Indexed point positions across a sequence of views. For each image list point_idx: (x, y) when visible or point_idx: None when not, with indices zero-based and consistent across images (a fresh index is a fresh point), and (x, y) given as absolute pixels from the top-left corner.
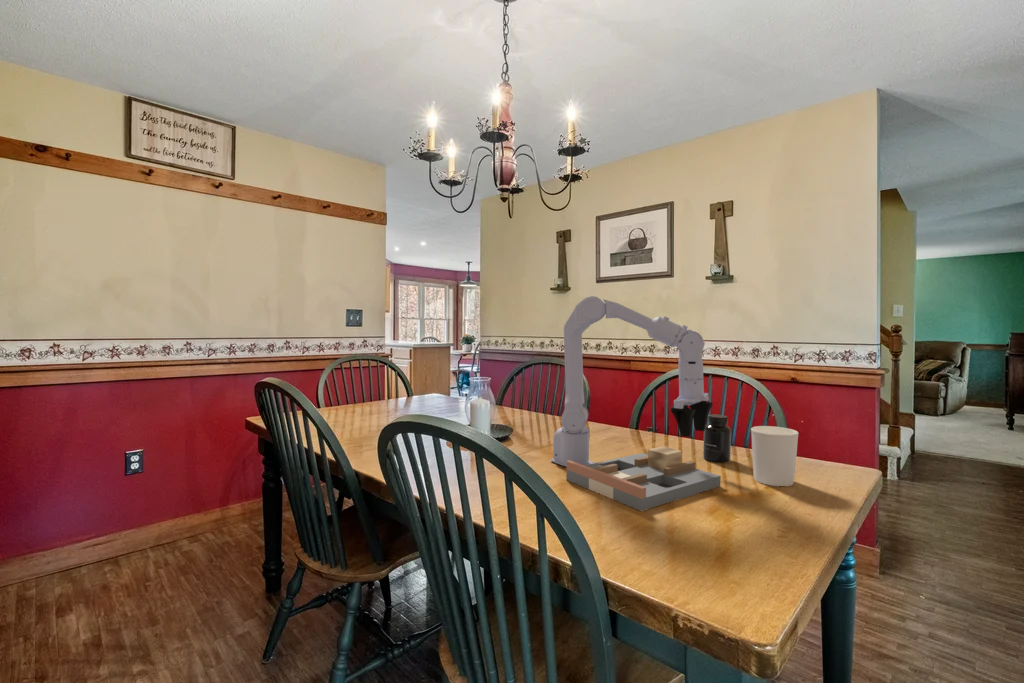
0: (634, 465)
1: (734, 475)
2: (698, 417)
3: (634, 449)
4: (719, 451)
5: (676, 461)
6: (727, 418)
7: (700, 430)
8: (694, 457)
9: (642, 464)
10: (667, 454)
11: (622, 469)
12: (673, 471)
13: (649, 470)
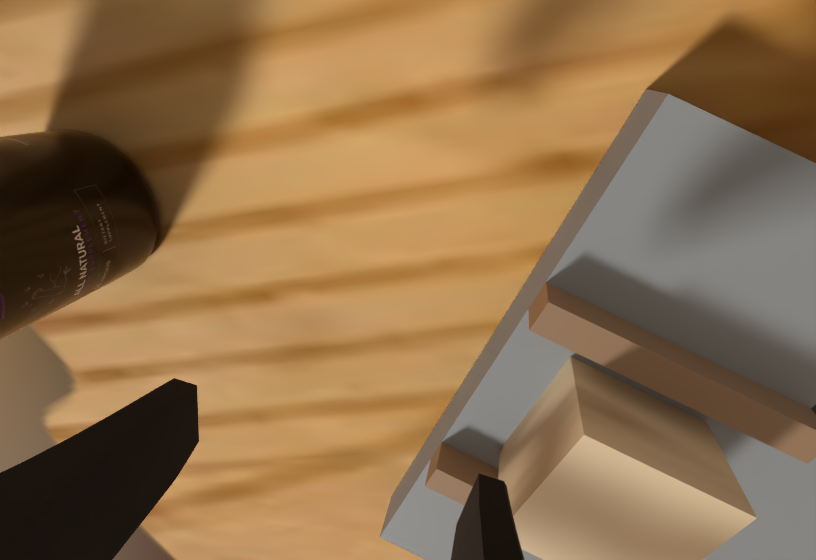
0: None
1: (335, 48)
2: (83, 542)
3: (222, 528)
4: (95, 197)
5: (627, 412)
6: None
7: (193, 408)
8: (149, 308)
9: None
10: (747, 513)
11: None
12: (770, 396)
13: None
